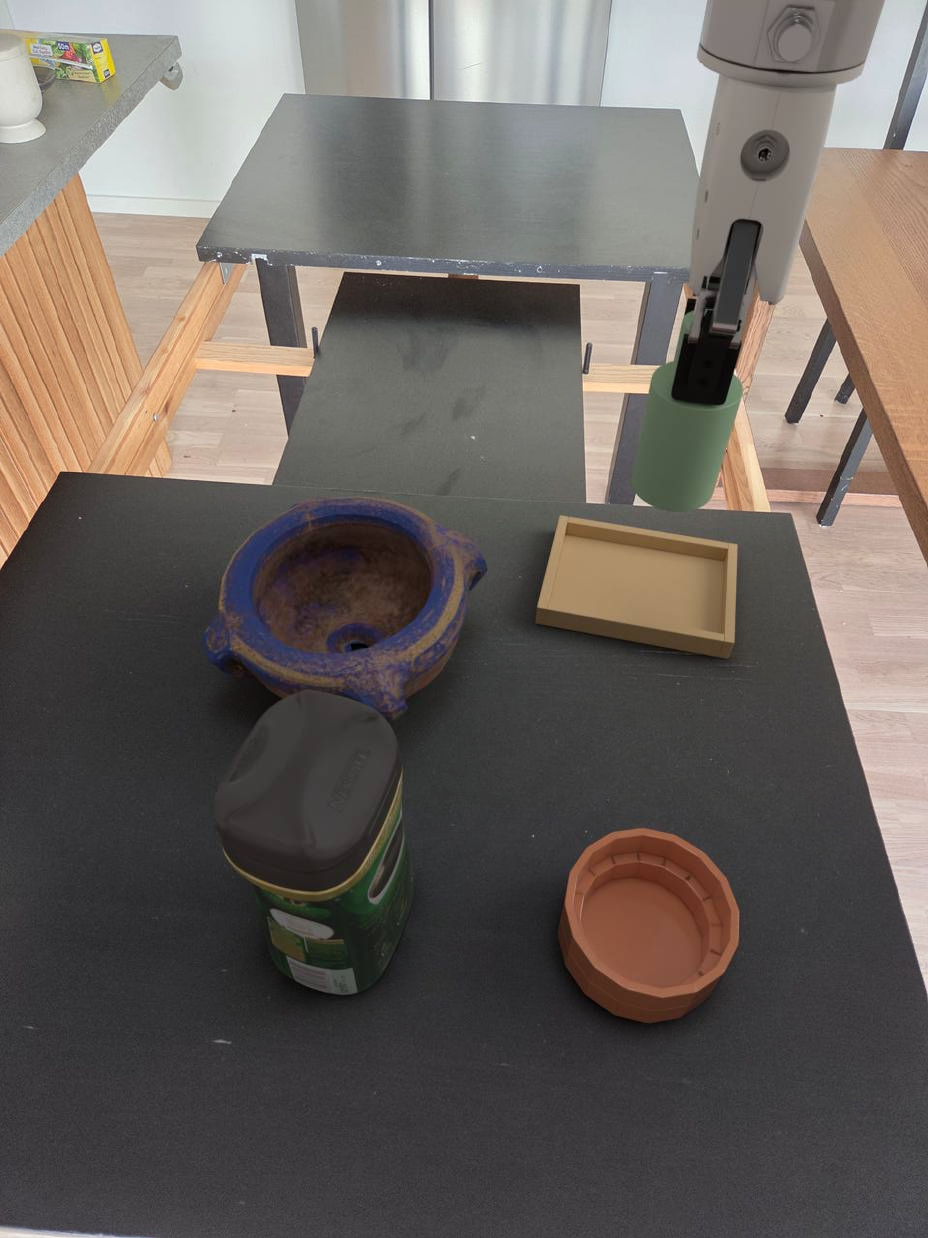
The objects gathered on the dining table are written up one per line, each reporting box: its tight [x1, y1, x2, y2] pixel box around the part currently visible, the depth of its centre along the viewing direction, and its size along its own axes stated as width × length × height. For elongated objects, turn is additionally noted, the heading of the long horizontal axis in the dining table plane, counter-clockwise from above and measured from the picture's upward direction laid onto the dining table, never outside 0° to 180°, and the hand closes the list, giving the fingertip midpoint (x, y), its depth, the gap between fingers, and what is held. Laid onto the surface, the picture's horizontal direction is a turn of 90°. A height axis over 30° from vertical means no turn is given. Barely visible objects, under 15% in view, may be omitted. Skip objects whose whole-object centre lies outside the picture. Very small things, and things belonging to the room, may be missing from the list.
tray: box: [534, 515, 739, 660], centre depth 71 cm, size 16×12×2 cm
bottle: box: [630, 309, 744, 513], centre depth 53 cm, size 6×6×12 cm
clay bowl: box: [557, 827, 740, 1024], centre depth 50 cm, size 10×10×5 cm
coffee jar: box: [212, 689, 416, 996], centre depth 46 cm, size 10×8×19 cm
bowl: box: [201, 496, 488, 723], centre depth 63 cm, size 18×18×10 cm
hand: (699, 378), depth 52 cm, fingers closed on bottle, 3 cm apart
